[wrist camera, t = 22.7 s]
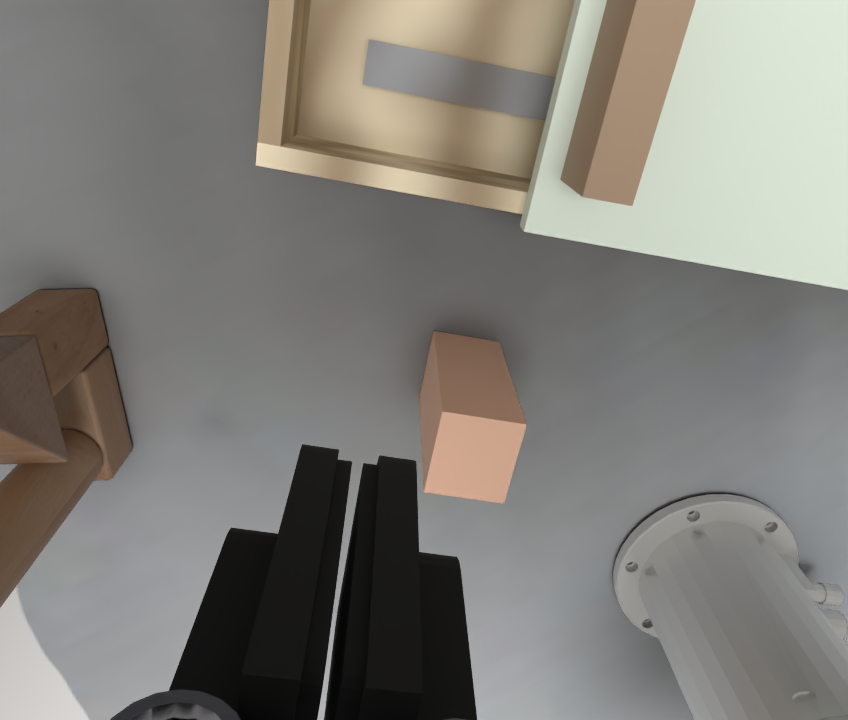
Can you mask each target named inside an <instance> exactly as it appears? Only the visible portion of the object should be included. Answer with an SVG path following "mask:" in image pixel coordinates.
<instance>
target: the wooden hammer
mask: <svg viewBox="0 0 848 720" xmlns="http://www.w3.org/2000/svg"><path fill="white" fill-rule="evenodd" d="M107 343H108V339H107V334H106V330H105V326H104V321H103V317H102V313H101V308H100V304H99V300H98V295H97V292H96V291H95V290H93V289H63V290H37V291H35V292H33V293H32V294H30V295H29V296H27V297H25V298H24V299H22V300H21V301H19V302H18V303H16V304H14V305H13V306H11V307H10V308H8V309H6V310H5V311H3V312H2V313H0V464H18V465H17V466H16V467H15V468H14V469H13V470H12V471H11V472H10V473H9V474H8V475H7V476H6V477H5V478H4V479H3V480H2V481H1V483H0V607H1V606H2V605H3V603H4V602H5V600H6V599H7V598H8V596H9V595H10V594H11V592H12V591H13V590H14V588H15V587H16V586H17V584H18V583H19V581H20V580H21V579H22V577H23V576H24V575H25V573H26V572H27V571H28V569H29V568H30V566H31V565H32V564H33V562H34V561H35V560H36V558H37V557H38V556H39V554H40V553H41V551H42V550H43V549H44V547H45V546H46V545H47V543H48V542H49V541H50V539H51V538H52V537H53V535H54V534H55V532H56V531H57V530H58V528H59V527H60V526H61V524H62V523H63V522H64V520H65V519H66V517H67V516H68V515H69V513H70V512H71V511H72V509H73V508H74V507H75V505H76V504H77V502H78V501H79V500H80V498H81V497H82V496H83V494H84V493H85V492H86V490H87V489H88V488H89V486H90V485H91V483H92V482H93V481H95V480H109V479H112V478H113V477H114V475H115V474H116V472H117V471H118V470H119V468H120V467H121V465H122V464H123V462H124V461H125V459H126V458H127V457H128V455H129V454H130V452H131V451H132V444H131V440H130V435H129V431H128V427H127V422H126V418H125V414H124V409H123V405H122V401H121V396H120V392H119V388H118V383H117V379H116V375H115V370H114V366H113V361H112V357H111V353H110V350H109V348H106V346H107Z"/></svg>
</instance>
